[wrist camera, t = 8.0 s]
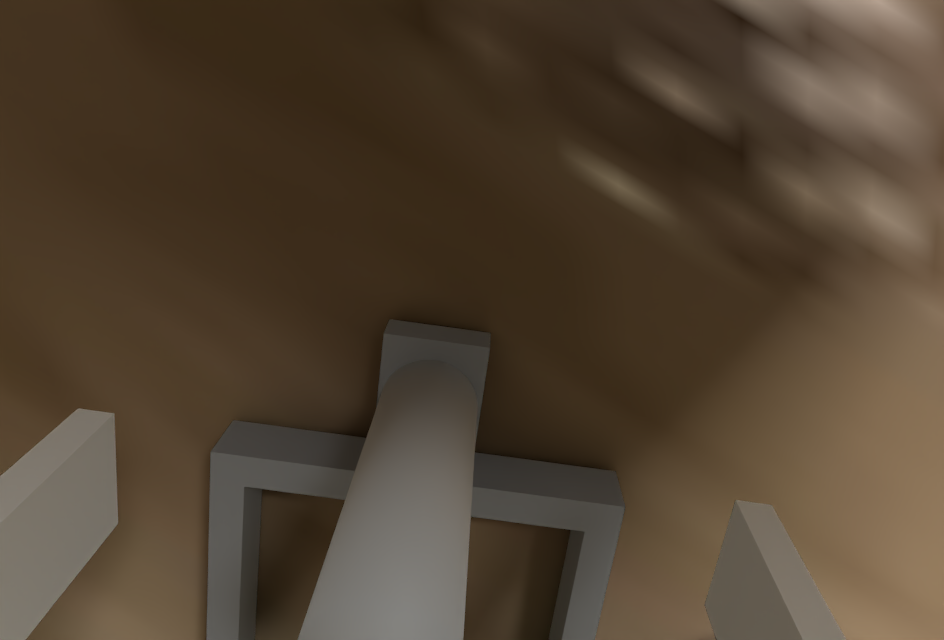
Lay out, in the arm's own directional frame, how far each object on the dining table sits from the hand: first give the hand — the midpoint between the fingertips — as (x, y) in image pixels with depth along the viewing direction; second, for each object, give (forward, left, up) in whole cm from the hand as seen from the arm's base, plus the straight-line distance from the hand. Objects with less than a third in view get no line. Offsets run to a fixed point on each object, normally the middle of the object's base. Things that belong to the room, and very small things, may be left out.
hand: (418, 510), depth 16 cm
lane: (+9, 0, -7) cm, 12 cm away
